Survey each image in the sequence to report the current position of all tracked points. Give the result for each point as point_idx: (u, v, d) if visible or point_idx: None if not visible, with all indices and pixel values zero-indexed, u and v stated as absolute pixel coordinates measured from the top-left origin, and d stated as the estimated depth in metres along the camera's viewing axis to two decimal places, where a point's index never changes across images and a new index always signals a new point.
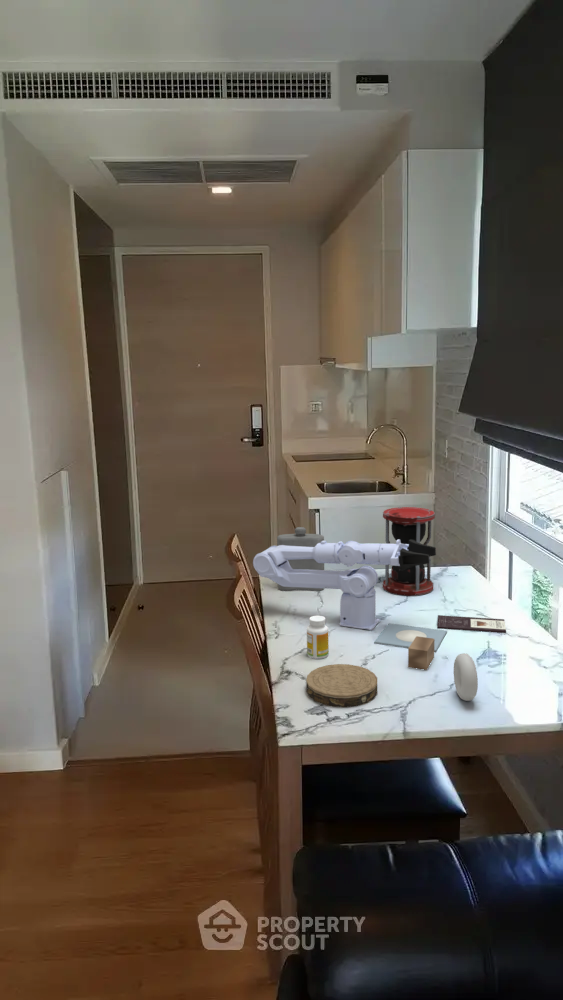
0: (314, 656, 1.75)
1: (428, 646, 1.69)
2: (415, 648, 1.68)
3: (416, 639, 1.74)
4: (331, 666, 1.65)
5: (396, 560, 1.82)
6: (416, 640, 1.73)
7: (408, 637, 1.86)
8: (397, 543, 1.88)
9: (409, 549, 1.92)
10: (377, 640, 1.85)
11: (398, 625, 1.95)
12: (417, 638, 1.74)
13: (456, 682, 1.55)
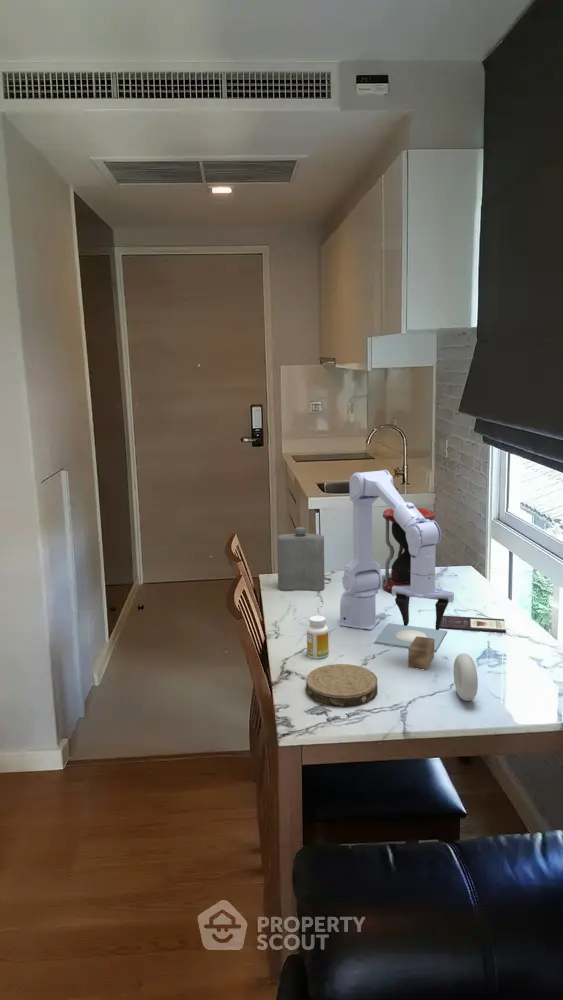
0: (314, 656, 1.75)
1: (428, 646, 1.69)
2: (415, 648, 1.68)
3: (416, 639, 1.74)
4: (331, 666, 1.65)
5: None
6: (416, 640, 1.73)
7: (408, 637, 1.86)
8: None
9: (437, 601, 1.67)
10: (377, 640, 1.85)
11: (398, 625, 1.95)
12: (417, 638, 1.74)
13: (456, 682, 1.55)
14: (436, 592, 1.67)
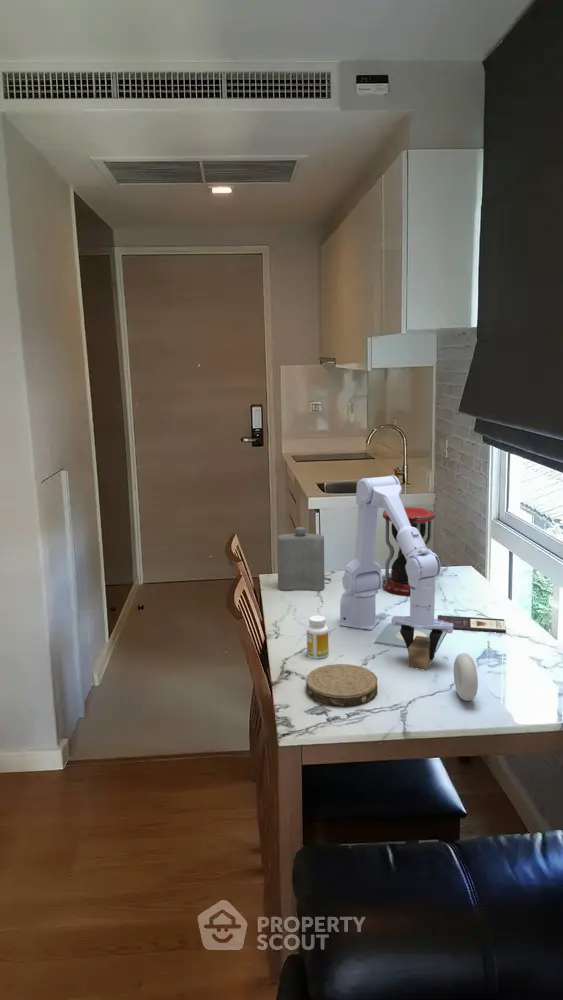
0: (314, 656, 1.75)
1: (428, 645, 1.69)
2: (415, 648, 1.68)
3: (416, 638, 1.74)
4: (331, 666, 1.65)
5: (392, 623, 1.73)
6: (416, 640, 1.73)
7: None
8: None
9: (431, 631, 1.69)
10: (377, 640, 1.85)
11: None
12: (417, 637, 1.74)
13: (456, 682, 1.55)
14: (435, 623, 1.69)
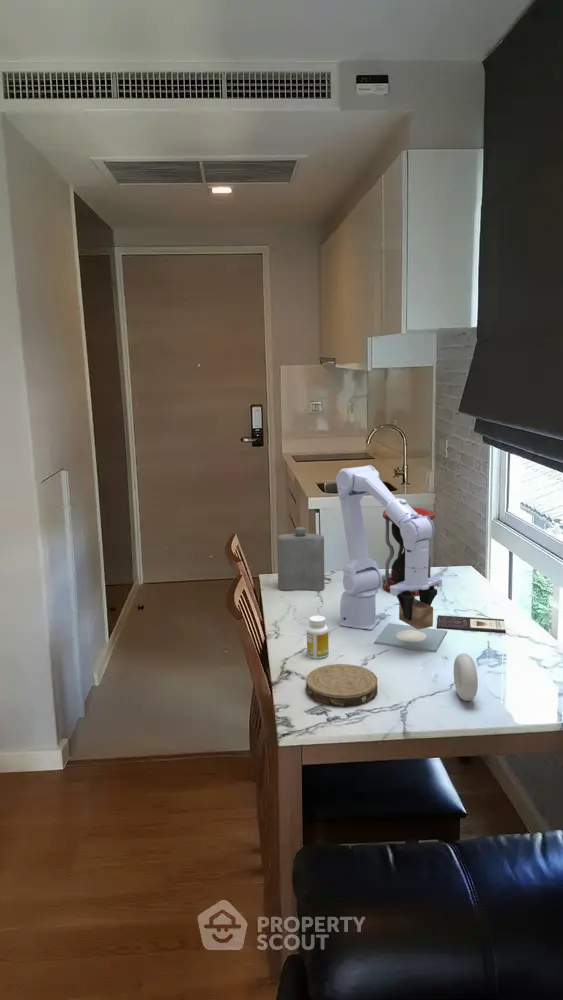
0: (314, 656, 1.75)
1: (425, 604, 1.78)
2: (422, 608, 1.74)
3: None
4: (331, 666, 1.65)
5: (393, 593, 1.74)
6: None
7: (408, 637, 1.86)
8: (421, 588, 1.74)
9: (425, 589, 1.78)
10: (377, 640, 1.85)
11: (398, 625, 1.95)
12: None
13: (456, 682, 1.55)
14: (427, 581, 1.78)
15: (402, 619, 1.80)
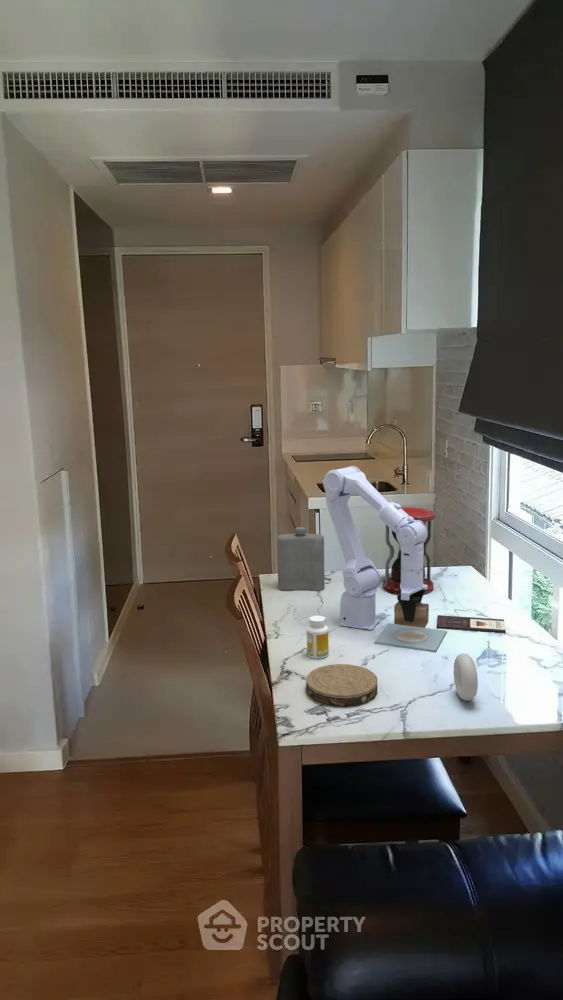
0: (314, 656, 1.75)
1: (418, 603, 1.87)
2: (425, 607, 1.83)
3: None
4: (331, 666, 1.65)
5: (406, 599, 1.78)
6: None
7: (408, 637, 1.86)
8: (423, 588, 1.82)
9: None
10: (377, 640, 1.85)
11: (398, 625, 1.95)
12: (400, 605, 1.85)
13: (456, 682, 1.55)
14: None
15: (399, 623, 1.85)
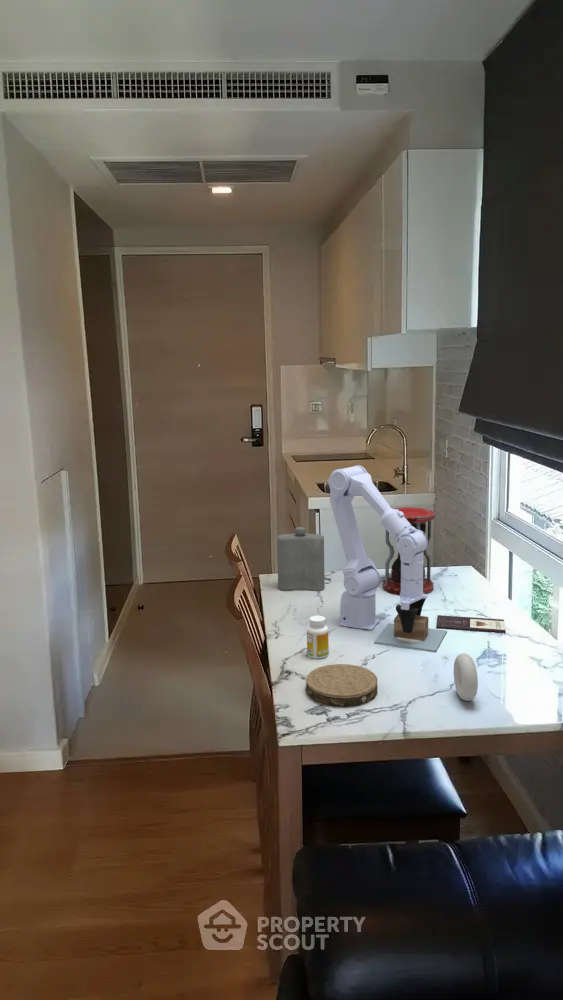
0: (314, 656, 1.75)
1: (417, 615, 1.87)
2: (424, 620, 1.84)
3: None
4: (331, 666, 1.65)
5: (406, 608, 1.78)
6: None
7: None
8: (423, 597, 1.83)
9: None
10: (377, 640, 1.85)
11: None
12: (399, 618, 1.86)
13: (456, 682, 1.55)
14: None
15: (399, 635, 1.86)
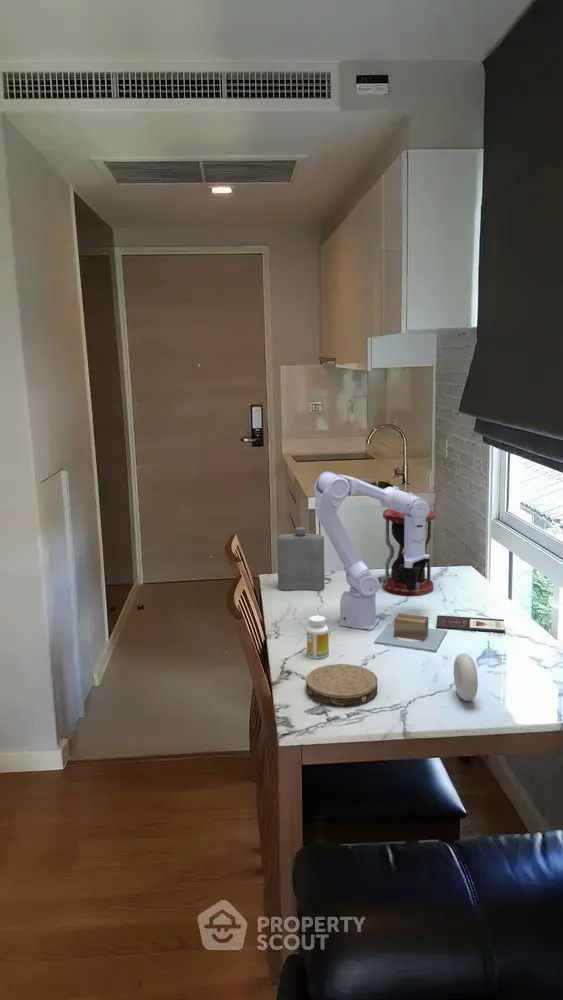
0: (314, 656, 1.75)
1: (417, 615, 1.87)
2: (424, 620, 1.84)
3: (402, 619, 1.85)
4: (331, 666, 1.65)
5: (409, 566, 1.92)
6: (405, 619, 1.85)
7: None
8: (425, 557, 1.96)
9: None
10: (377, 640, 1.85)
11: None
12: (399, 618, 1.86)
13: (456, 682, 1.55)
14: None
15: (399, 635, 1.86)
